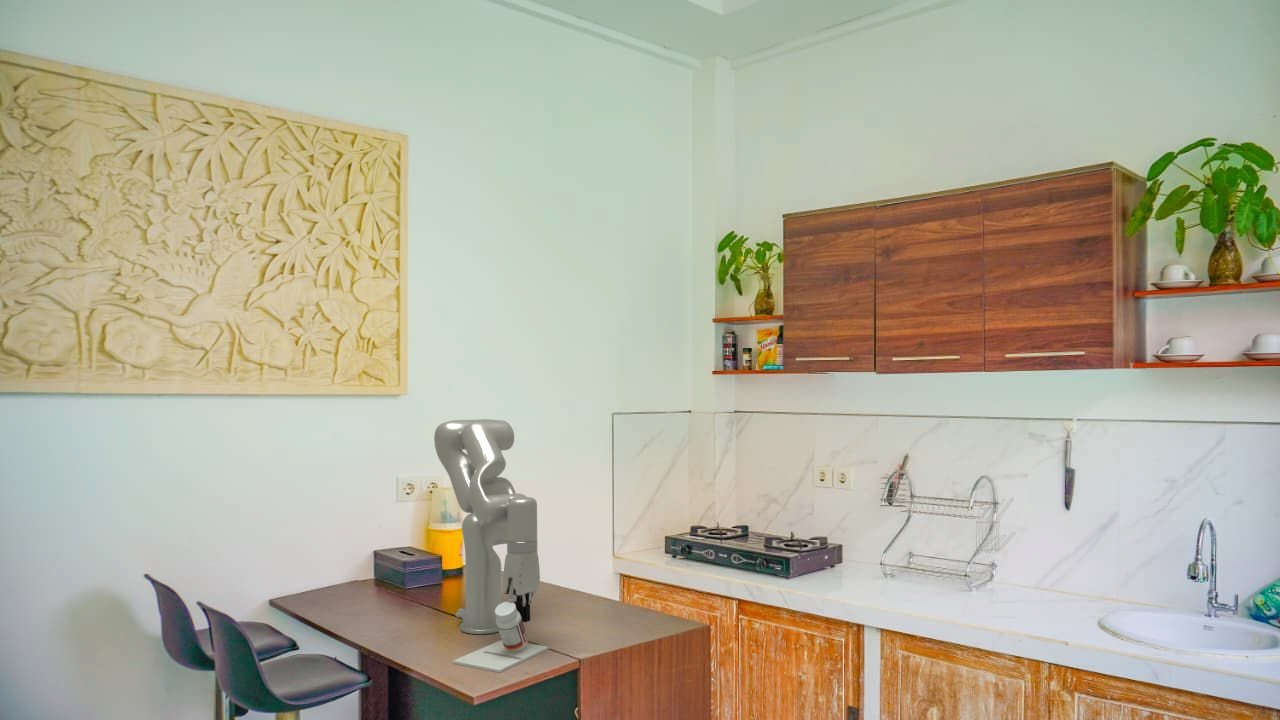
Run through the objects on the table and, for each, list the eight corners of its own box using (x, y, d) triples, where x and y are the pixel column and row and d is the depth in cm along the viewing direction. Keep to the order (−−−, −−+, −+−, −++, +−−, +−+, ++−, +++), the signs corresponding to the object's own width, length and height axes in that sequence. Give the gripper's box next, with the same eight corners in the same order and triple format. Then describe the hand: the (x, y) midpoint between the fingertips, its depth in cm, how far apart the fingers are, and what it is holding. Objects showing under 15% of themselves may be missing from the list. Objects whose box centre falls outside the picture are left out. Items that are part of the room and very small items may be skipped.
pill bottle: (516, 631, 230) (505, 596, 225) (533, 639, 226) (522, 604, 221) (498, 646, 226) (487, 611, 221) (515, 655, 222) (504, 620, 217)
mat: (452, 663, 217) (452, 660, 217) (503, 641, 234) (503, 638, 234) (499, 672, 210) (499, 669, 210) (548, 649, 228) (548, 646, 228)
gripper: (526, 541, 236) (527, 612, 235) (492, 551, 223) (492, 626, 222) (551, 543, 232) (552, 615, 232) (517, 553, 219) (518, 630, 219)
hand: (523, 620), depth 227 cm, fingers closed
